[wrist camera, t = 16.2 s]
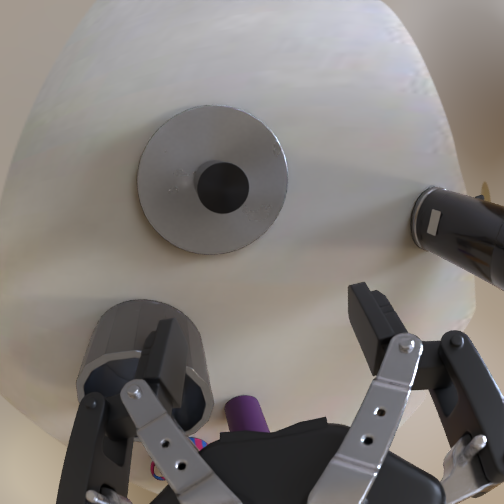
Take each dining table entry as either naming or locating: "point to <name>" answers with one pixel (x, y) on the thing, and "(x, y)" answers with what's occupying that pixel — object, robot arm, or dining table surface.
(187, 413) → the pot
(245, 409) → the eggplant
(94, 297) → the dining table surface
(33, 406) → the dining table surface
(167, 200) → the lid
